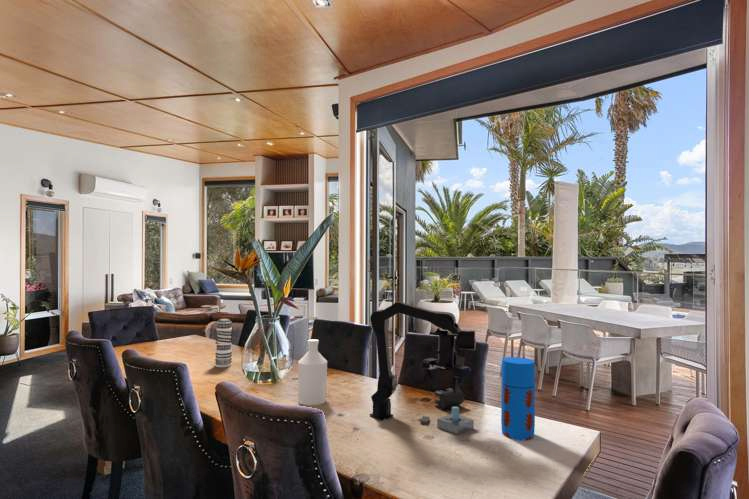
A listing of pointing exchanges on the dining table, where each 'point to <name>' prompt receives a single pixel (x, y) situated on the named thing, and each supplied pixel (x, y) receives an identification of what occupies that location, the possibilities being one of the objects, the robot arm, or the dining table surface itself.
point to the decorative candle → (223, 343)
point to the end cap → (448, 398)
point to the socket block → (455, 424)
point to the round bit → (455, 413)
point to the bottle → (312, 376)
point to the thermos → (518, 398)
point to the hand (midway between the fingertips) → (445, 391)
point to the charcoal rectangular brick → (425, 420)
